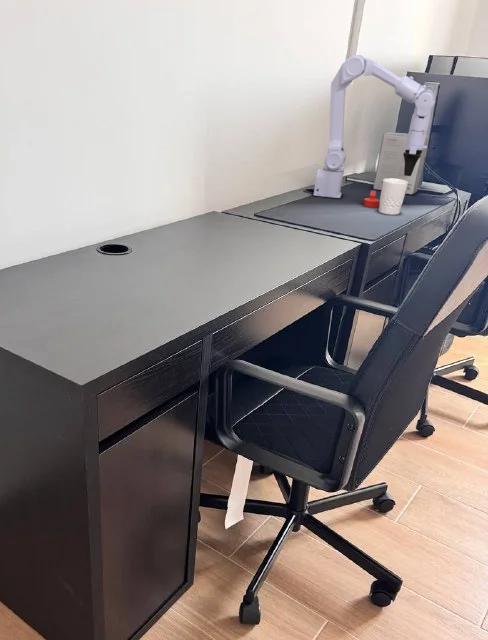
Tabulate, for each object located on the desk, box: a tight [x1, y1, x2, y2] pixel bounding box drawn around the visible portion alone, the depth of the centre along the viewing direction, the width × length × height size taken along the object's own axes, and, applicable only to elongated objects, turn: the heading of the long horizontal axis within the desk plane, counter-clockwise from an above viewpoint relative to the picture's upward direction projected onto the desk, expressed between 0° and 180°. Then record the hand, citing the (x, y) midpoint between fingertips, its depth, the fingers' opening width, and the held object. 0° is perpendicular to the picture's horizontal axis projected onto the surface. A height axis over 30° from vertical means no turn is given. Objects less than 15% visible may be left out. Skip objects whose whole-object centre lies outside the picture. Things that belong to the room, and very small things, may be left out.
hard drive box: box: [372, 131, 430, 195], centre depth 217 cm, size 16×8×20 cm, turn 58°
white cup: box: [378, 178, 408, 216], centre depth 189 cm, size 8×8×10 cm
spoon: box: [363, 190, 380, 208], centre depth 202 cm, size 13×5×3 cm, turn 163°
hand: (408, 173), depth 199 cm, fingers open, 7 cm apart
